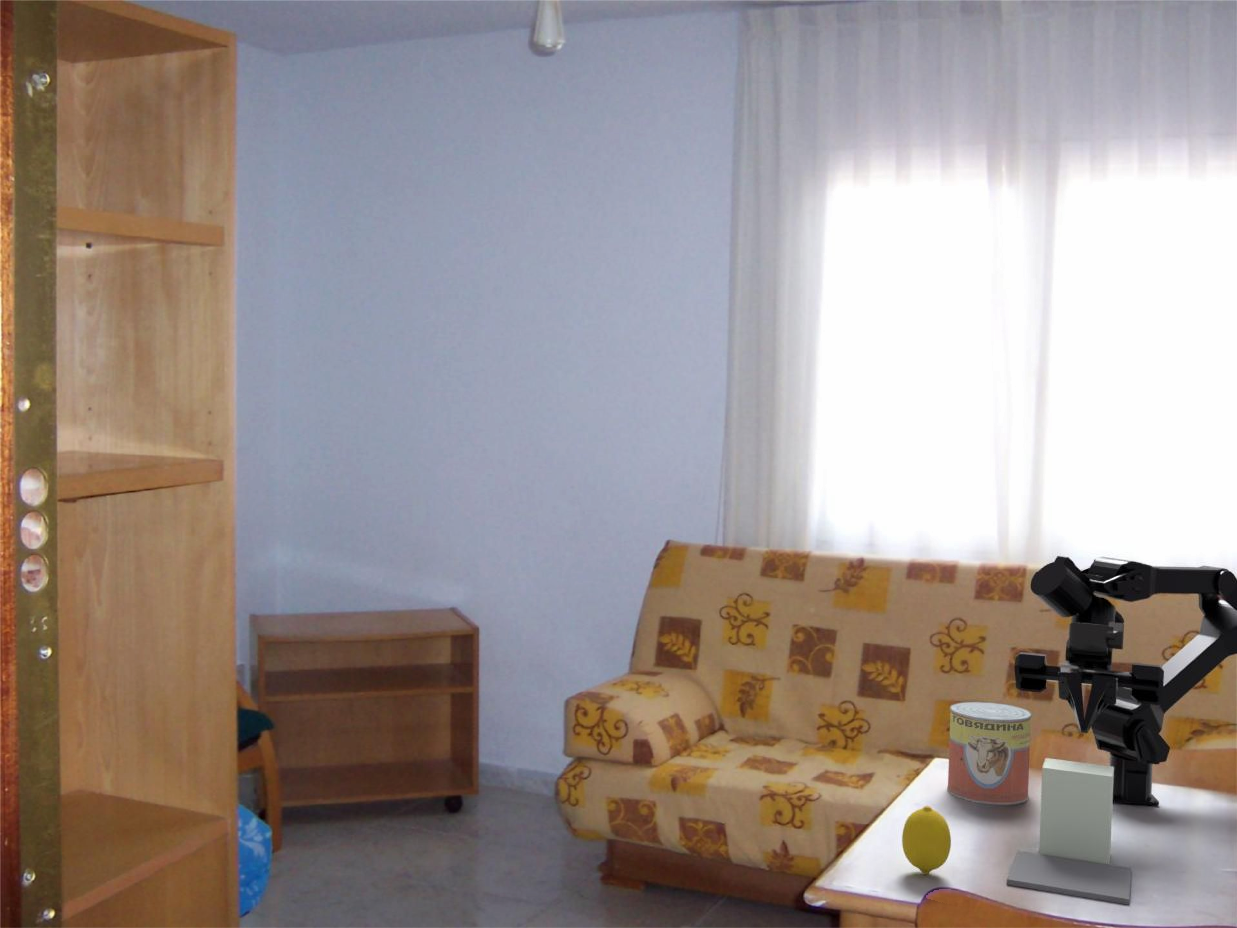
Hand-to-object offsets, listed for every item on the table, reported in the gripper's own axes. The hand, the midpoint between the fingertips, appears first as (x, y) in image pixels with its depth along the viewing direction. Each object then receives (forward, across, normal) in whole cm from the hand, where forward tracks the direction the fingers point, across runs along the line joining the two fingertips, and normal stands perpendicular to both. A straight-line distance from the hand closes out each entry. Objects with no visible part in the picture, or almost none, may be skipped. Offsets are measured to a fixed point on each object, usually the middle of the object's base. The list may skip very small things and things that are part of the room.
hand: (1083, 731), depth 163 cm
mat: (+23, 0, -5) cm, 24 cm away
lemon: (+28, -15, -9) cm, 33 cm away
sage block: (+17, 0, +2) cm, 17 cm away
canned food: (+1, -13, +18) cm, 22 cm away
